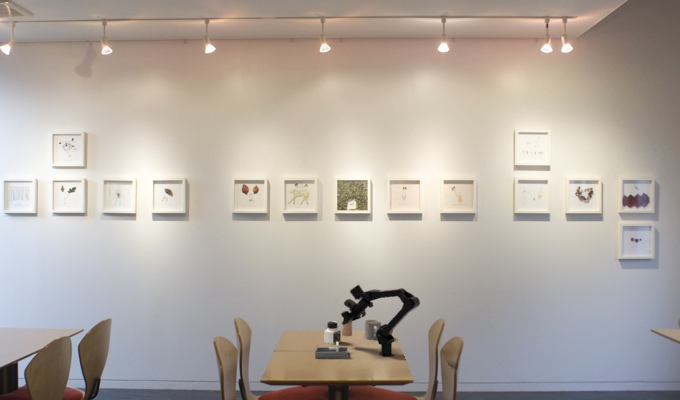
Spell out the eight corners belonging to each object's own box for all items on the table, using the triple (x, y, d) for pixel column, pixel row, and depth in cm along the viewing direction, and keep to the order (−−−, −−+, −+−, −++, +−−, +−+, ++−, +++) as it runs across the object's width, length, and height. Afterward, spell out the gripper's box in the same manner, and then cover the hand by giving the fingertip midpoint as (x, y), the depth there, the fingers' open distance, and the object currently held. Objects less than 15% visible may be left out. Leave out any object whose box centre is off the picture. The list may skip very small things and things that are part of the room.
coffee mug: (364, 335, 295) (364, 319, 295) (380, 335, 295) (379, 319, 295) (365, 341, 282) (365, 324, 282) (382, 341, 282) (382, 324, 282)
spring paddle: (338, 351, 259) (338, 341, 259) (338, 355, 252) (338, 345, 252) (328, 351, 259) (328, 341, 259) (328, 355, 252) (328, 345, 252)
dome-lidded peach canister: (353, 335, 269) (353, 313, 270) (344, 336, 267) (344, 313, 268) (350, 333, 275) (350, 311, 275) (340, 334, 273) (340, 311, 273)
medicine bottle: (333, 344, 276) (333, 324, 276) (324, 342, 280) (324, 322, 280) (340, 341, 281) (340, 321, 282) (331, 339, 286) (331, 320, 286)
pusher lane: (347, 352, 260) (347, 345, 261) (348, 357, 251) (348, 350, 251) (315, 352, 260) (315, 345, 260) (315, 358, 250) (315, 350, 250)
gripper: (361, 292, 277) (345, 309, 283) (343, 297, 262) (327, 315, 268) (373, 307, 272) (357, 324, 278) (355, 313, 257) (339, 330, 263)
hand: (345, 323), depth 272 cm, fingers closed on dome-lidded peach canister, 6 cm apart
